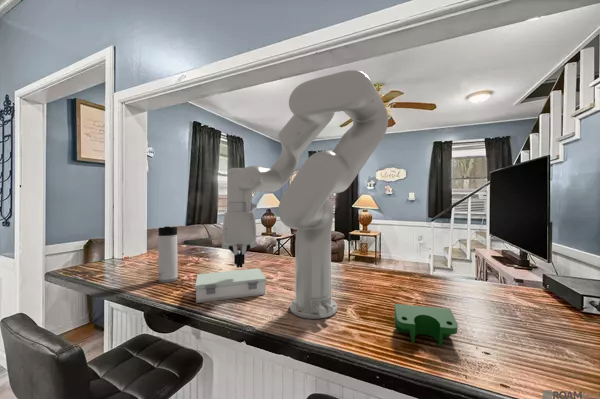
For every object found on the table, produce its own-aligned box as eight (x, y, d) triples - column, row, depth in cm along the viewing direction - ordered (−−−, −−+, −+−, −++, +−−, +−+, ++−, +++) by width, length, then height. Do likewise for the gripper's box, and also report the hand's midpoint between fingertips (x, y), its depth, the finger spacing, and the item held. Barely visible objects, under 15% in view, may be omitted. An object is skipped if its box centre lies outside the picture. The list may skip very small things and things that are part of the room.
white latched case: (266, 295, 79) (266, 282, 79) (195, 303, 73) (195, 290, 73) (259, 282, 91) (258, 271, 91) (198, 289, 85) (198, 277, 85)
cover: (267, 282, 79) (266, 279, 79) (195, 290, 72) (194, 286, 72) (259, 270, 92) (259, 268, 92) (197, 276, 85) (197, 273, 85)
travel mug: (157, 284, 91) (156, 227, 91) (159, 278, 97) (159, 225, 97) (176, 282, 93) (176, 226, 93) (178, 276, 99) (177, 224, 99)
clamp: (406, 360, 54) (389, 324, 53) (403, 339, 59) (387, 305, 58) (468, 349, 50) (451, 309, 49) (458, 327, 55) (442, 291, 54)
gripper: (261, 207, 87) (261, 262, 87) (214, 207, 82) (214, 265, 82) (265, 208, 79) (265, 268, 79) (214, 208, 75) (213, 271, 75)
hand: (239, 266), depth 81 cm, fingers closed
